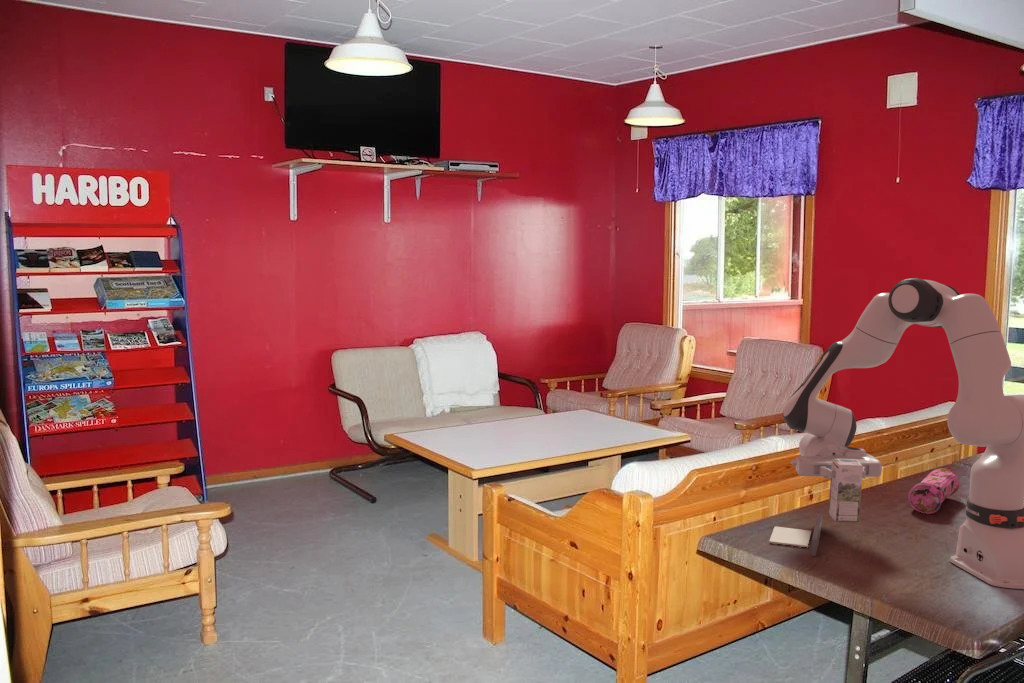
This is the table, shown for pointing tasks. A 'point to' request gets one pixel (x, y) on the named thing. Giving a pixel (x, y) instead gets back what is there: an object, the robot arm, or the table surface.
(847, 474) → the syrup box
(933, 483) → the pencil case
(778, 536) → the pad
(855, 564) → the table surface
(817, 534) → the low wall
